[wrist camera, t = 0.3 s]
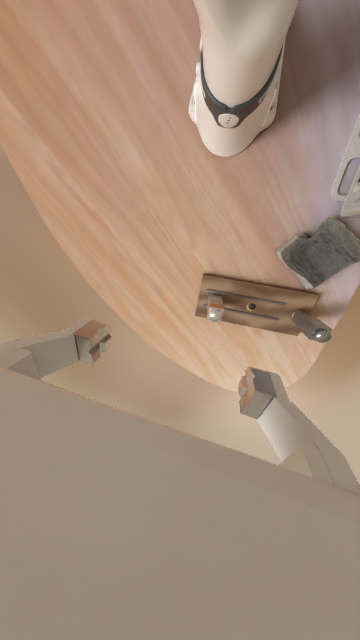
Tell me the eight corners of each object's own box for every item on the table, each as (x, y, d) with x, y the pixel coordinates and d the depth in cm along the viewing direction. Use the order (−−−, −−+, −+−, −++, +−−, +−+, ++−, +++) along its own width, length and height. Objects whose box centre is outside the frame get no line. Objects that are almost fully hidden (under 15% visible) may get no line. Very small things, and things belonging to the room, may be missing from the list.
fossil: (359, 254, 45) (371, 256, 41) (300, 291, 51) (306, 295, 48) (332, 205, 41) (343, 202, 38) (272, 251, 48) (277, 252, 44)
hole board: (203, 273, 53) (203, 275, 51) (315, 293, 50) (320, 295, 48) (195, 313, 59) (194, 316, 57) (294, 332, 56) (298, 336, 54)
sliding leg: (209, 293, 53) (209, 307, 41) (221, 295, 52) (224, 310, 41) (207, 304, 54) (206, 321, 43) (218, 306, 54) (220, 324, 43)
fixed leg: (294, 308, 51) (319, 329, 39) (306, 310, 51) (336, 332, 39) (289, 319, 52) (312, 341, 41) (301, 321, 52) (327, 345, 40)
